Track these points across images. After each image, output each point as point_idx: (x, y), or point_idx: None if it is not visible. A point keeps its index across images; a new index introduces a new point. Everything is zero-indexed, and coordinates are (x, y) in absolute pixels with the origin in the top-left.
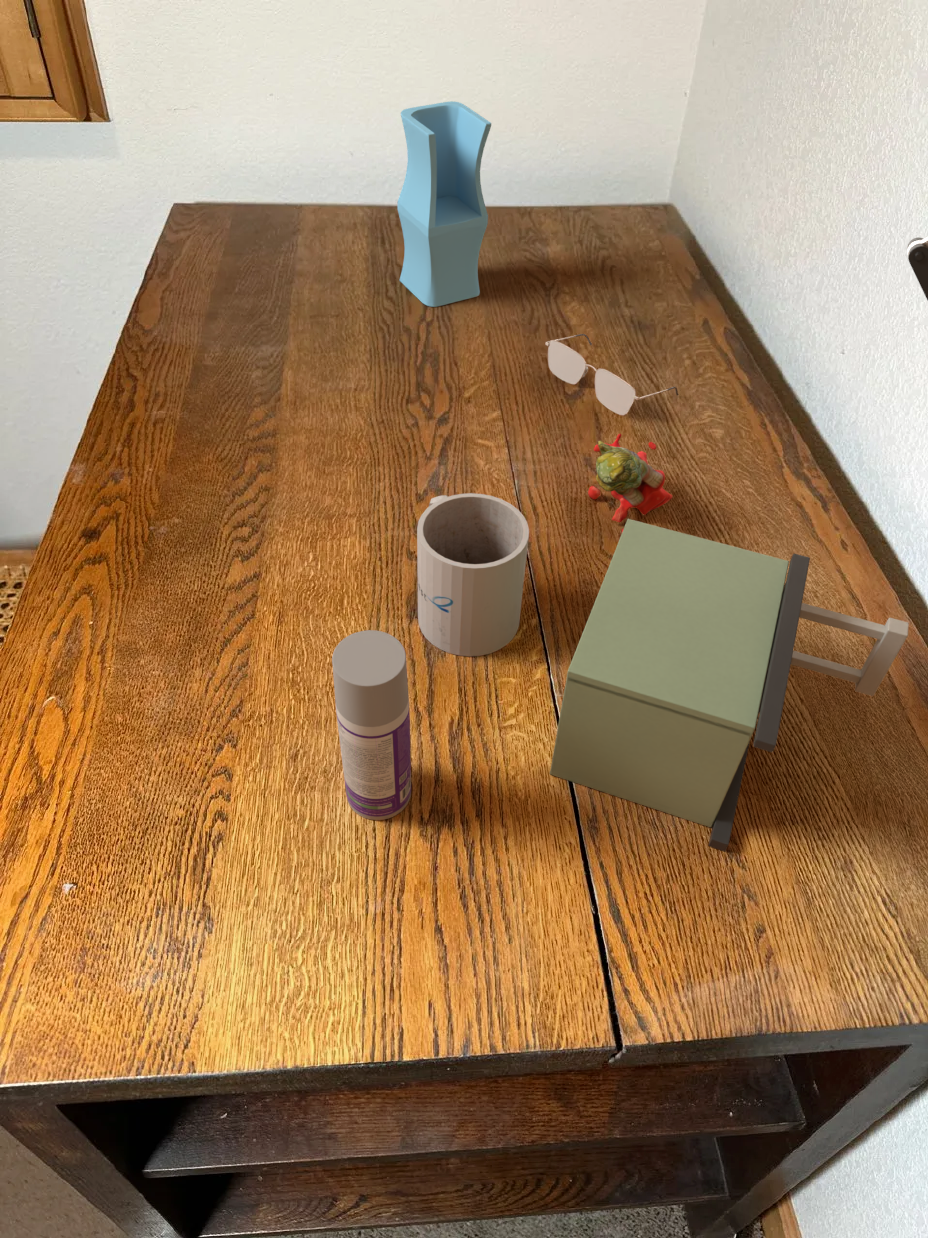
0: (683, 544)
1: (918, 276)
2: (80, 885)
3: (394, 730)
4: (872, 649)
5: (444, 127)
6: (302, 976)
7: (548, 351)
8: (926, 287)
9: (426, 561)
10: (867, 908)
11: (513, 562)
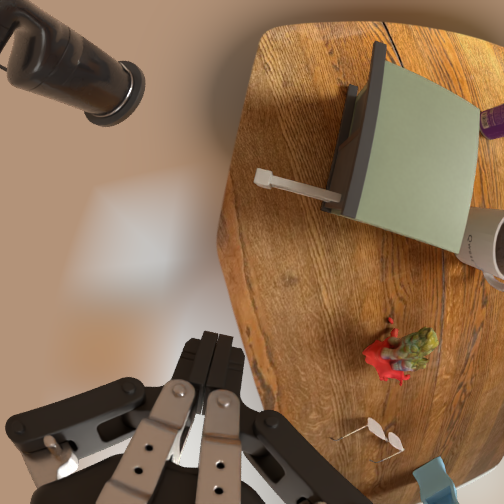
0: (428, 229)
1: (346, 483)
2: None
3: None
4: (270, 185)
5: None
6: (479, 58)
7: (402, 446)
8: (327, 470)
9: None
10: (278, 65)
11: (497, 222)
